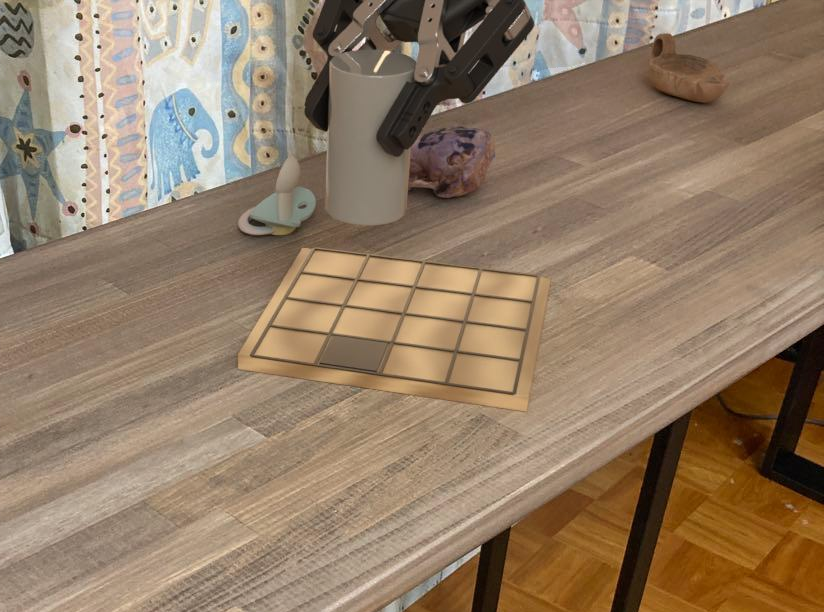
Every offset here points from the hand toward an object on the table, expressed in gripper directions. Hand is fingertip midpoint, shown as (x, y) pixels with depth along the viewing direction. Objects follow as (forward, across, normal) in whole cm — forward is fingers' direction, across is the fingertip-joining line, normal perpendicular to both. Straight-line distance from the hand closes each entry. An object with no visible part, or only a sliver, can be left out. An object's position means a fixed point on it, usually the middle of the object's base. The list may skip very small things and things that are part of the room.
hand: (350, 134), depth 68 cm
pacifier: (+2, -21, +22) cm, 30 cm away
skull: (-10, -18, +34) cm, 39 cm away
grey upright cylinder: (+2, 0, +5) cm, 5 cm away
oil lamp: (-39, -15, +63) cm, 76 cm away
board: (+6, -1, +18) cm, 19 cm away
